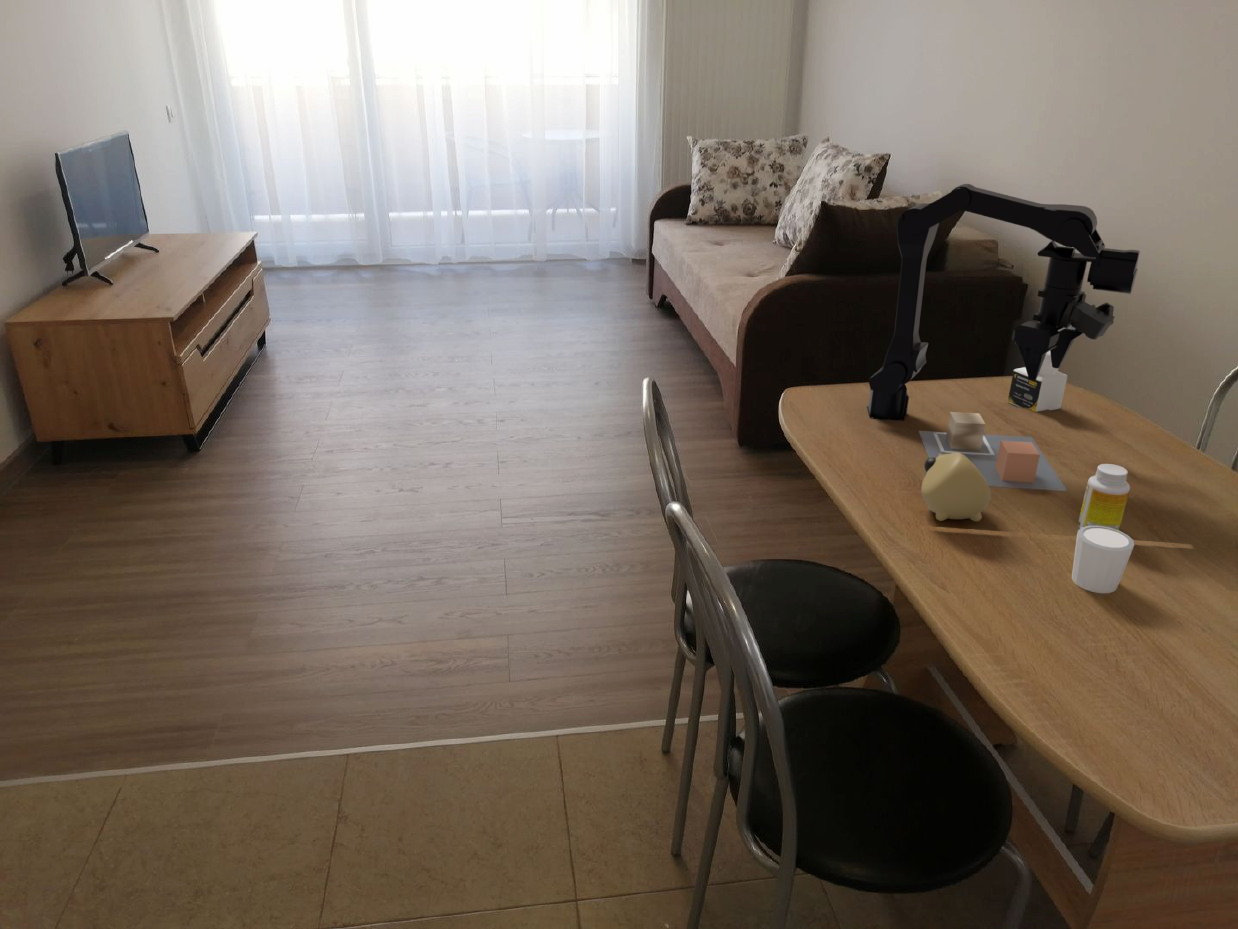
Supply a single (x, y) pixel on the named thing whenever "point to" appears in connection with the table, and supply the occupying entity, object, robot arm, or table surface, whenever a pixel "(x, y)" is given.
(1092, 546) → the white cylinder
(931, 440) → the build mat
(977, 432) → the base block
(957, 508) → the toy pig
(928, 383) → the table surface
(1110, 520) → the supplement bottle
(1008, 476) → the top block
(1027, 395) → the medicine bottle
